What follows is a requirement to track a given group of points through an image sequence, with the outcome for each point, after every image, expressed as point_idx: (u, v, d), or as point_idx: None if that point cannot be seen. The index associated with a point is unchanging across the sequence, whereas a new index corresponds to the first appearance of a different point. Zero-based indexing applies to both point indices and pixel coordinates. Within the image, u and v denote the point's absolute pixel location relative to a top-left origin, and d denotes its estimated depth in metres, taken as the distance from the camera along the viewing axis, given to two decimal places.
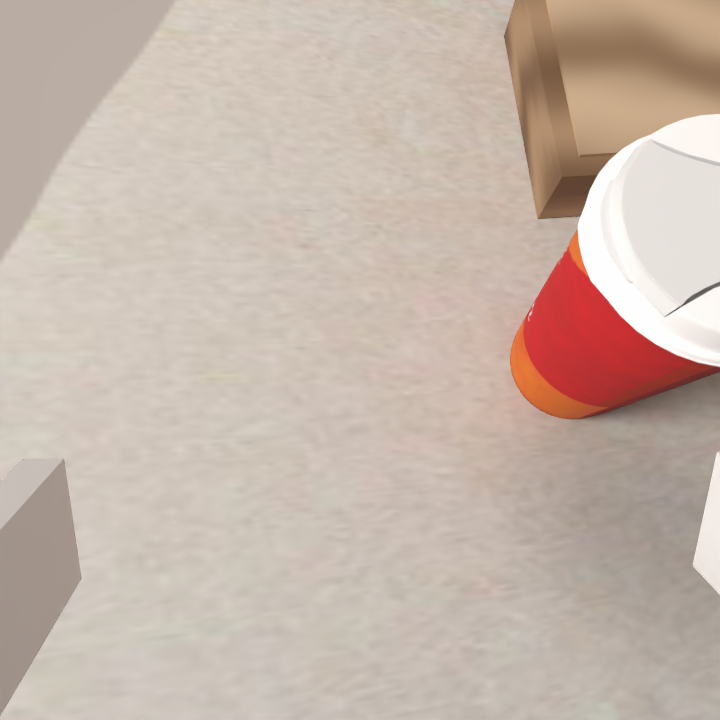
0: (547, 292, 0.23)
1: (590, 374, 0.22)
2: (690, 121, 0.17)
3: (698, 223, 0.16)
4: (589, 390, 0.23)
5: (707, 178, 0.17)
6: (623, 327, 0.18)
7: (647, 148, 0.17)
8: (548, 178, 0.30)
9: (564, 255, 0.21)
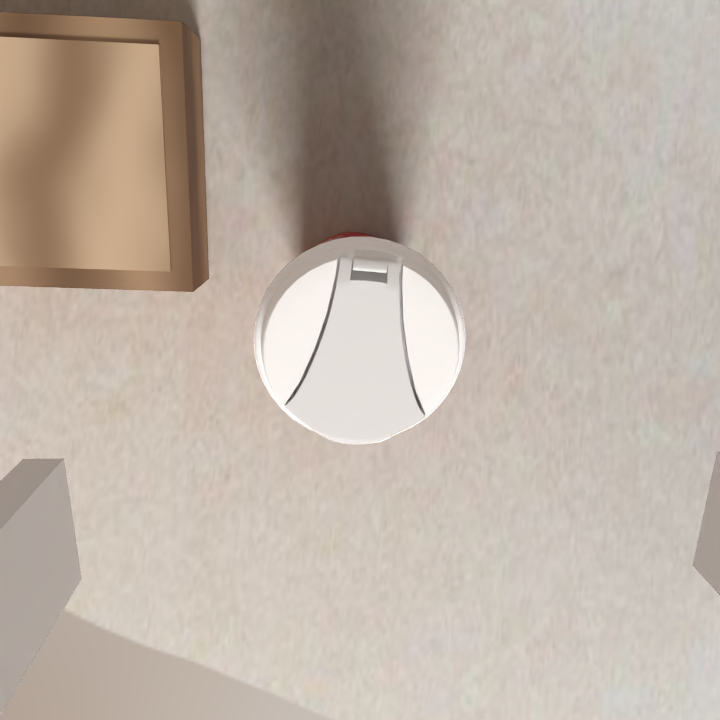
0: None
1: None
2: (269, 370, 0.21)
3: (362, 388, 0.21)
4: None
5: (324, 371, 0.21)
6: None
7: (292, 409, 0.21)
8: None
9: None
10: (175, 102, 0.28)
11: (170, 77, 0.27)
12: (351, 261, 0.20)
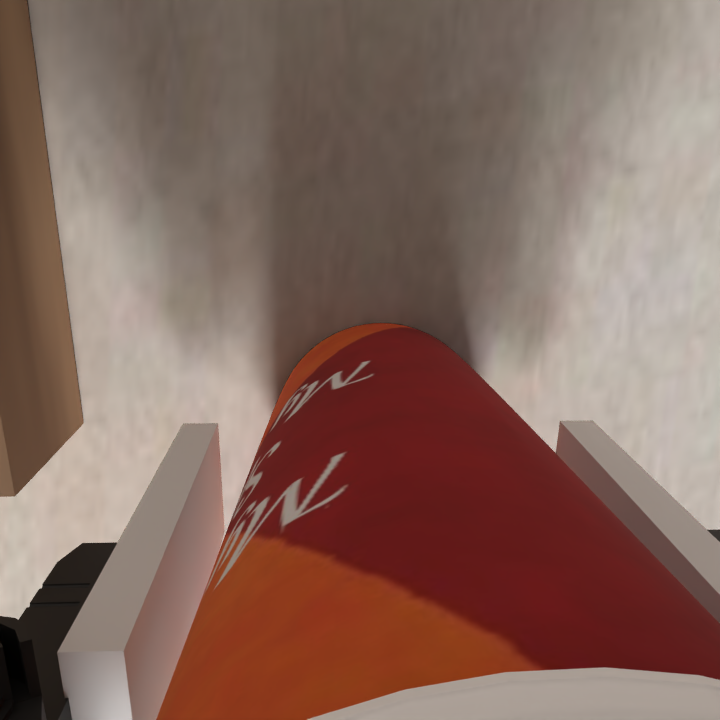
0: None
1: None
2: None
3: None
4: None
5: None
6: None
7: None
8: None
9: None
10: None
11: None
12: None
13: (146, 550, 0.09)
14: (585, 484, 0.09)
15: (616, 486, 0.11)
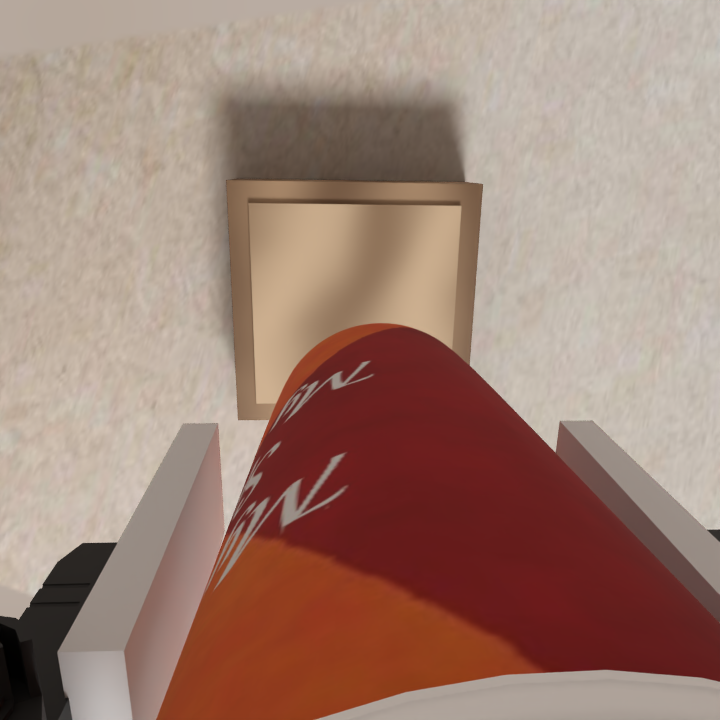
0: None
1: None
2: None
3: None
4: None
5: None
6: None
7: None
8: None
9: None
10: (469, 254, 0.30)
11: (467, 233, 0.29)
12: None
13: (146, 550, 0.09)
14: (586, 485, 0.09)
15: (616, 486, 0.11)
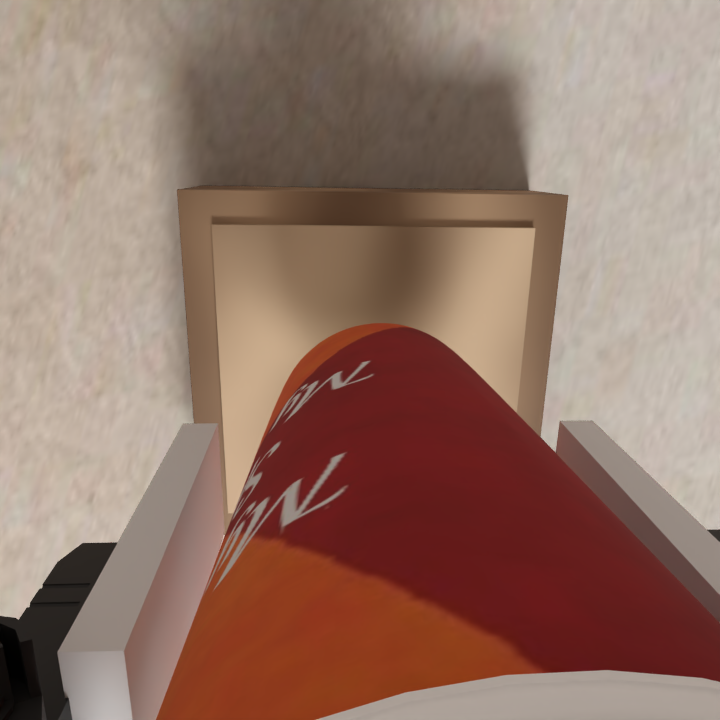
0: None
1: None
2: None
3: None
4: None
5: None
6: None
7: None
8: None
9: None
10: (543, 299, 0.20)
11: (541, 268, 0.20)
12: None
13: (146, 550, 0.09)
14: None
15: (616, 486, 0.11)
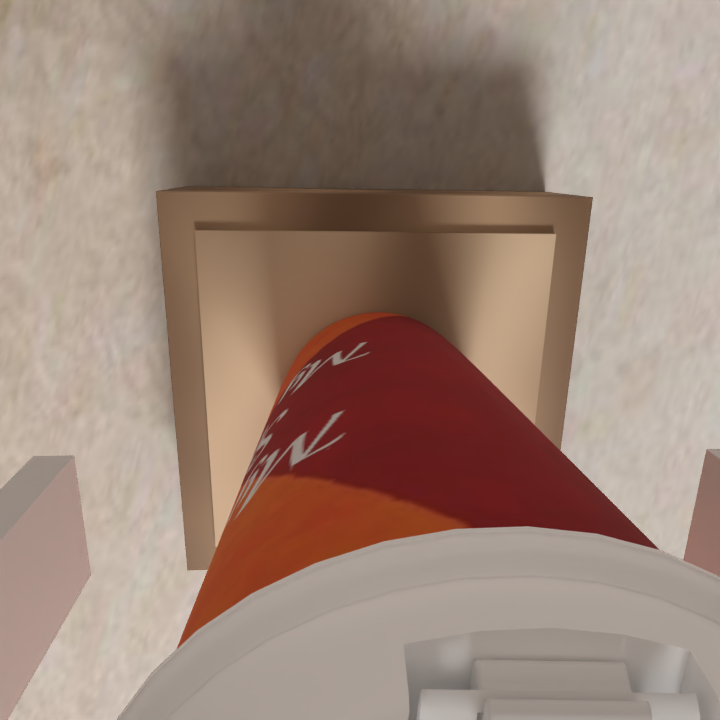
0: None
1: None
2: None
3: None
4: None
5: None
6: None
7: None
8: None
9: None
10: (563, 313, 0.18)
11: (562, 278, 0.18)
12: (472, 706, 0.04)
13: None
14: None
15: None
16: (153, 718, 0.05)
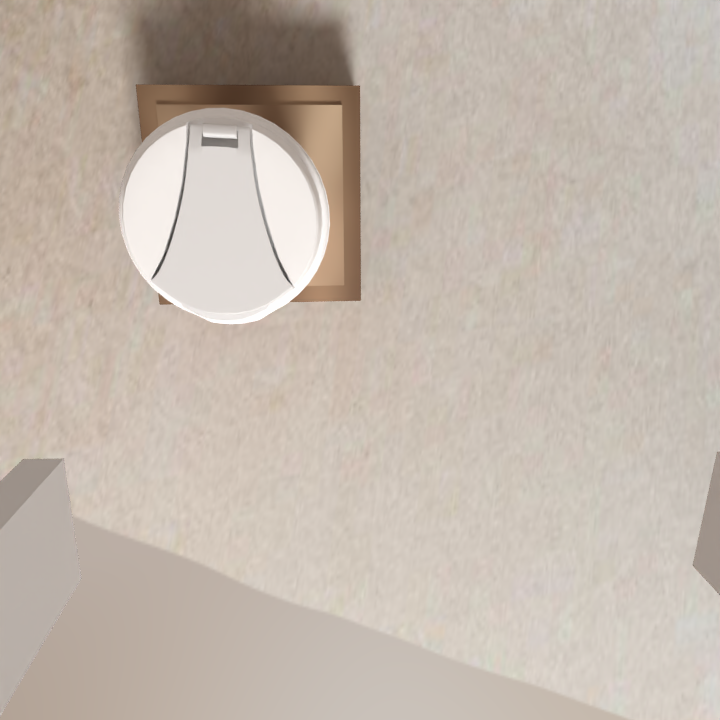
0: None
1: None
2: (131, 244, 0.21)
3: (225, 258, 0.22)
4: None
5: (186, 242, 0.21)
6: None
7: (159, 284, 0.22)
8: None
9: None
10: (352, 149, 0.34)
11: (349, 130, 0.34)
12: (201, 128, 0.20)
13: None
14: None
15: None
16: (136, 156, 0.21)
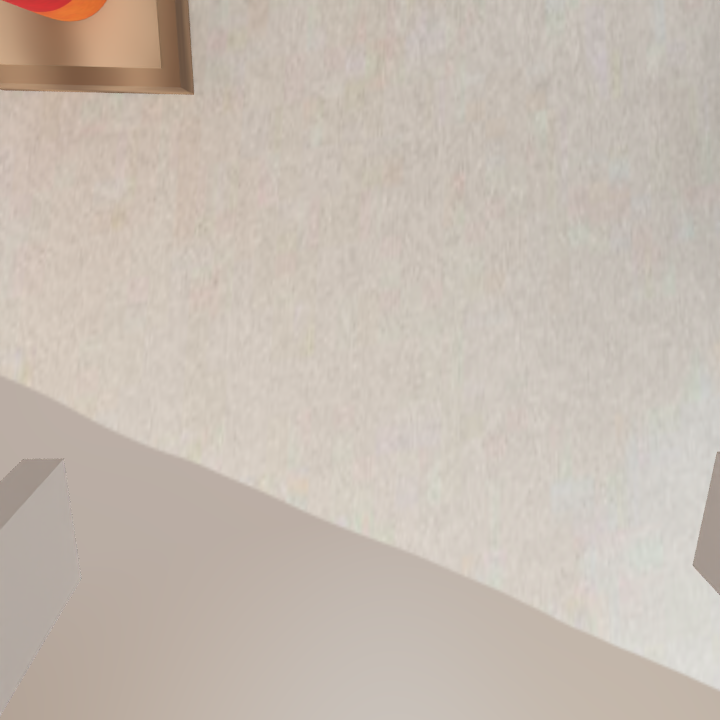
0: None
1: None
2: None
3: None
4: None
5: None
6: None
7: None
8: (171, 90, 0.37)
9: None
10: None
11: None
12: None
13: None
14: None
15: None
16: None
